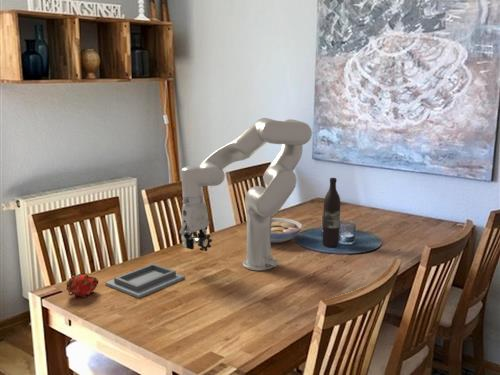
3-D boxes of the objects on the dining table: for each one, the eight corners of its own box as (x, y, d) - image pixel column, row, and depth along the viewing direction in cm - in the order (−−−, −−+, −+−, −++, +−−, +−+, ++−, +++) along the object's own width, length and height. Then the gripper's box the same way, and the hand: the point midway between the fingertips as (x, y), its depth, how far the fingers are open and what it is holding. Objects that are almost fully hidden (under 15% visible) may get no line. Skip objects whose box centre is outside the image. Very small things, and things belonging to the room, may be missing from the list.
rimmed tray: (184, 278, 201) (184, 271, 201) (138, 298, 185) (138, 290, 184) (151, 267, 212) (151, 260, 212) (105, 284, 195) (105, 277, 195)
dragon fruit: (63, 304, 183) (96, 299, 192) (73, 296, 178) (107, 291, 186) (58, 280, 186) (91, 276, 194) (68, 271, 181) (101, 267, 189)
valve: (177, 247, 206) (200, 254, 199) (176, 231, 205) (199, 236, 197) (189, 242, 211) (212, 248, 204) (188, 226, 210) (211, 231, 202)
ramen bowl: (294, 252, 229) (294, 234, 228) (243, 246, 237) (243, 228, 235) (307, 235, 252) (308, 218, 251) (260, 230, 260) (260, 213, 258)
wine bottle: (320, 246, 237) (323, 179, 230) (324, 241, 243) (327, 176, 237) (336, 248, 234) (339, 180, 228) (340, 243, 241) (343, 177, 234)
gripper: (183, 206, 191) (187, 255, 196) (216, 195, 204) (218, 241, 209) (169, 203, 196) (172, 251, 200) (201, 193, 209) (204, 237, 213)
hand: (196, 245), depth 204 cm, fingers closed on valve, 5 cm apart
